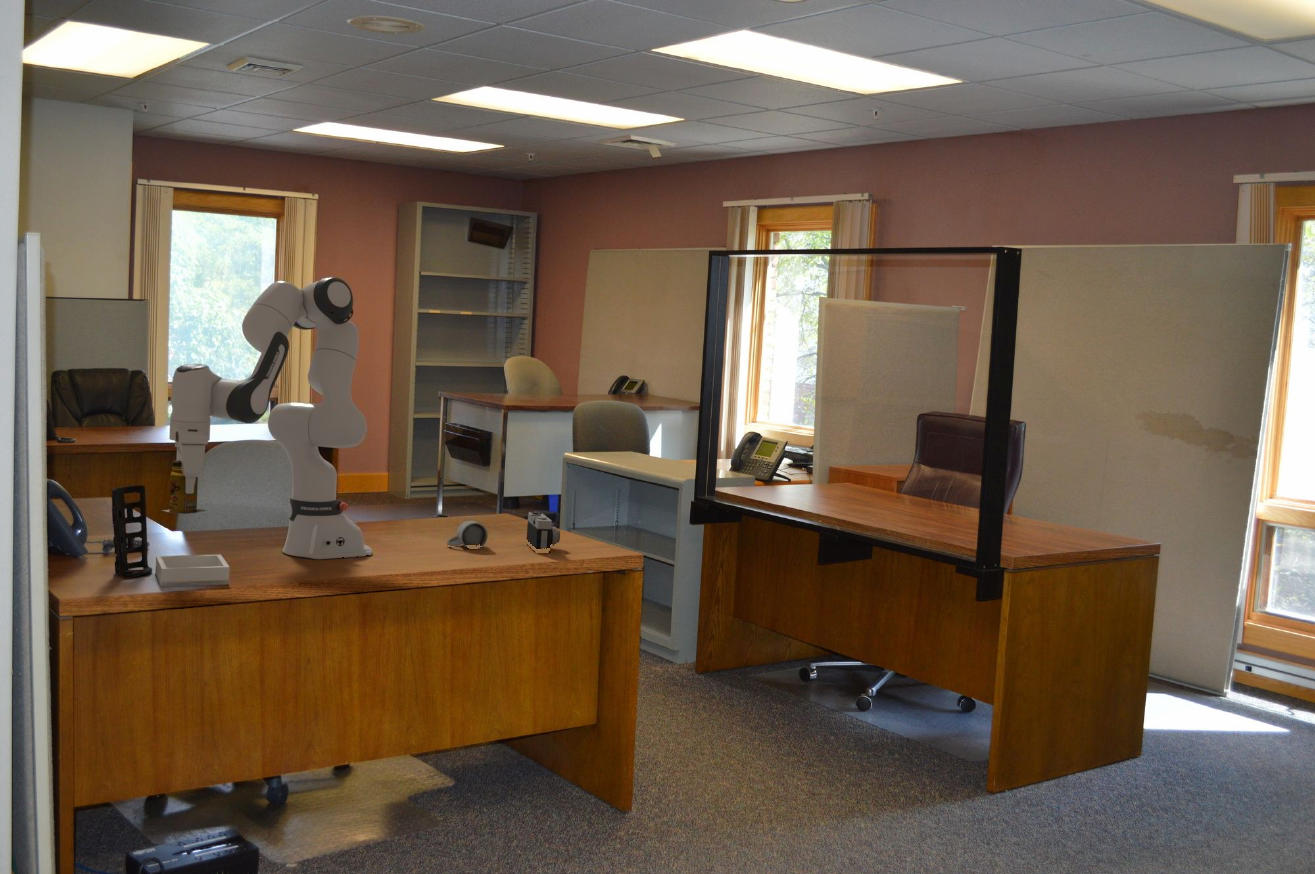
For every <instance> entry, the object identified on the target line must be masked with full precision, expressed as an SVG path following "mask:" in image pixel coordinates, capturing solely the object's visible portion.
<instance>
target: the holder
mask: <svg viewBox="0 0 1315 874" xmlns="http://www.w3.org/2000/svg"><path fill="white" fill-rule="evenodd" d="M110 492H111V494H110V498H111V513H112V514H111V517H112V519H111V520H112V521H111V522H112V525H113V526H112V527H113V537H112V538H113V547H114V554H115V556H114V557H115V558H114V559H115V561H114V573H115V574H116V575H117V576H120V577H122V579H123V580H126V579H127V580H128V579H132V578H134V577H135V578H136V577H139V576H140V577H141V576H143V575H147V574H150V573H152V571H153V568H152V567H150V566H149V563H148V562H149V561H148V529H147V524H148V523H147V501H146V500H147V498H146V497H147V496H146V486H145V485H142V484H140V485H129V486H122V487H118V488H117V487H116V488H113V489H110ZM132 493H133V494H134V493H137V494H139V500H138V501H134V502H125V494H132ZM134 508H139V510H140V515H139V516H134ZM137 523H139V524H140V530H139V531H135V532H134V531H133V532H127V525H128V524H137ZM135 538H140V539H141V545H139V546H136V545H135ZM133 553H141V559H140V560H139V561H133V562H132V561H131V562H128V554H133ZM138 568H139V569H138ZM140 568H142V569H140Z"/></svg>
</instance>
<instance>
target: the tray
mask: <svg viewBox="0 0 1315 874" xmlns="http://www.w3.org/2000/svg"><path fill="white" fill-rule="evenodd" d="M230 570H231V569H230V565H229V564H228V562H227V561H226V560H225V558H224V557H223V555H222V554H189V555H187V554H185V555H156V556H155V575H156V577H157V580H158V583H159V584H160V587H161V588H163V587H165V588H168V587H190V586H191V587H193V586H195V587H196V586H222V585H223V586H225V585H229V583H230Z"/></svg>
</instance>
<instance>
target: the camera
mask: <svg viewBox="0 0 1315 874" xmlns="http://www.w3.org/2000/svg"><path fill="white" fill-rule="evenodd" d="M527 515H528V516H527V527H526V539H527V540H528V542H530V544H532V546H534V547H535V548H536V549H543V548H544V549H545V548H546V549H547V548H550V549H551V547H550V545H551V544H558V543H559V542H560V541H561V532H560V530H559V529H557V527H556V526H552V524H553V520H552V519H550V518H549V517H547V515H545V514H544V513H543V512H541V511H532V512H528V514H527Z"/></svg>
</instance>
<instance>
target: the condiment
mask: <svg viewBox="0 0 1315 874" xmlns="http://www.w3.org/2000/svg"><path fill="white" fill-rule="evenodd" d="M171 470H172V471H171V473H170V477H169V479H170V480H169V481H170V482H169V486H170V487H169V502H168V503H169V506H168V507H169V509H163V510H162V509H161V511H163V512H167V513H172V514H178V515H179V514H180V515H189V514H190V515H191V514H197V513H200V512H207V511H209V509H205V508H204V509H203V508H198V487H199V486H198V485H199V484H198V483H199V477H196V480H195V484H194V492H193V493H192V494H187V493H186V492H185V480H186V479H185V476H184V474H183V473H182V471H181V462H180V460H179V461H176V460H174V461H172V469H171Z"/></svg>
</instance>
